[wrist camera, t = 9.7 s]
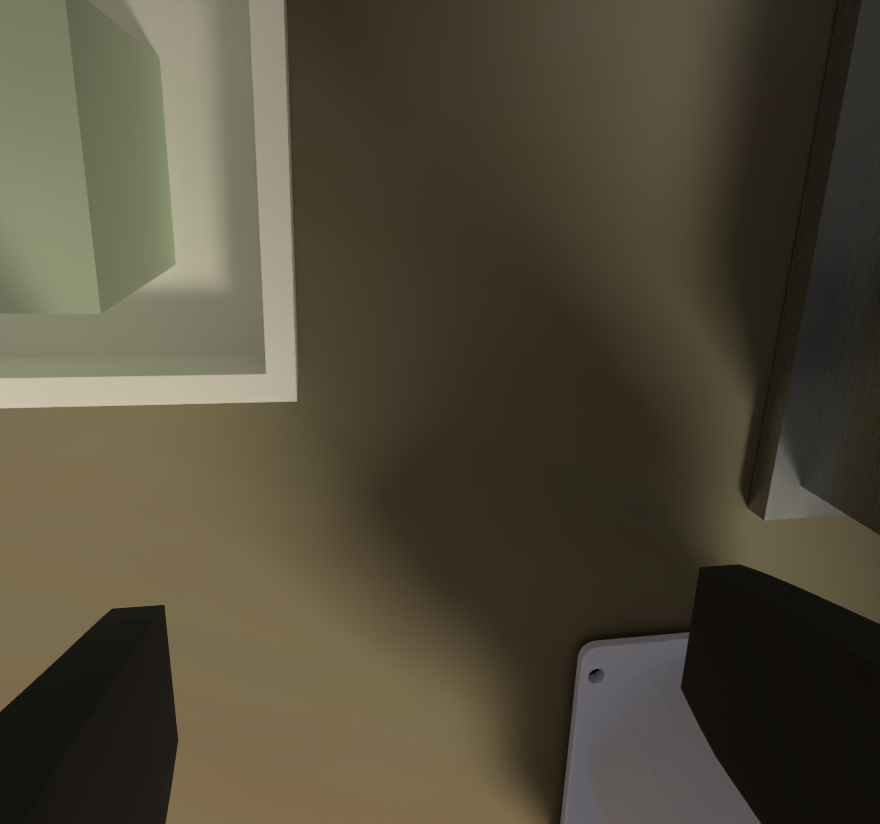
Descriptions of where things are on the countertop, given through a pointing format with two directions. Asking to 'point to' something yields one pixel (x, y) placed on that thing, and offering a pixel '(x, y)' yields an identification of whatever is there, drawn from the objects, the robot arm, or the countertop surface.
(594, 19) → the countertop surface
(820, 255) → the grey unit
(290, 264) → the off-white tray
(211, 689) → the countertop surface
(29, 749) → the robot arm
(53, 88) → the sage green block
